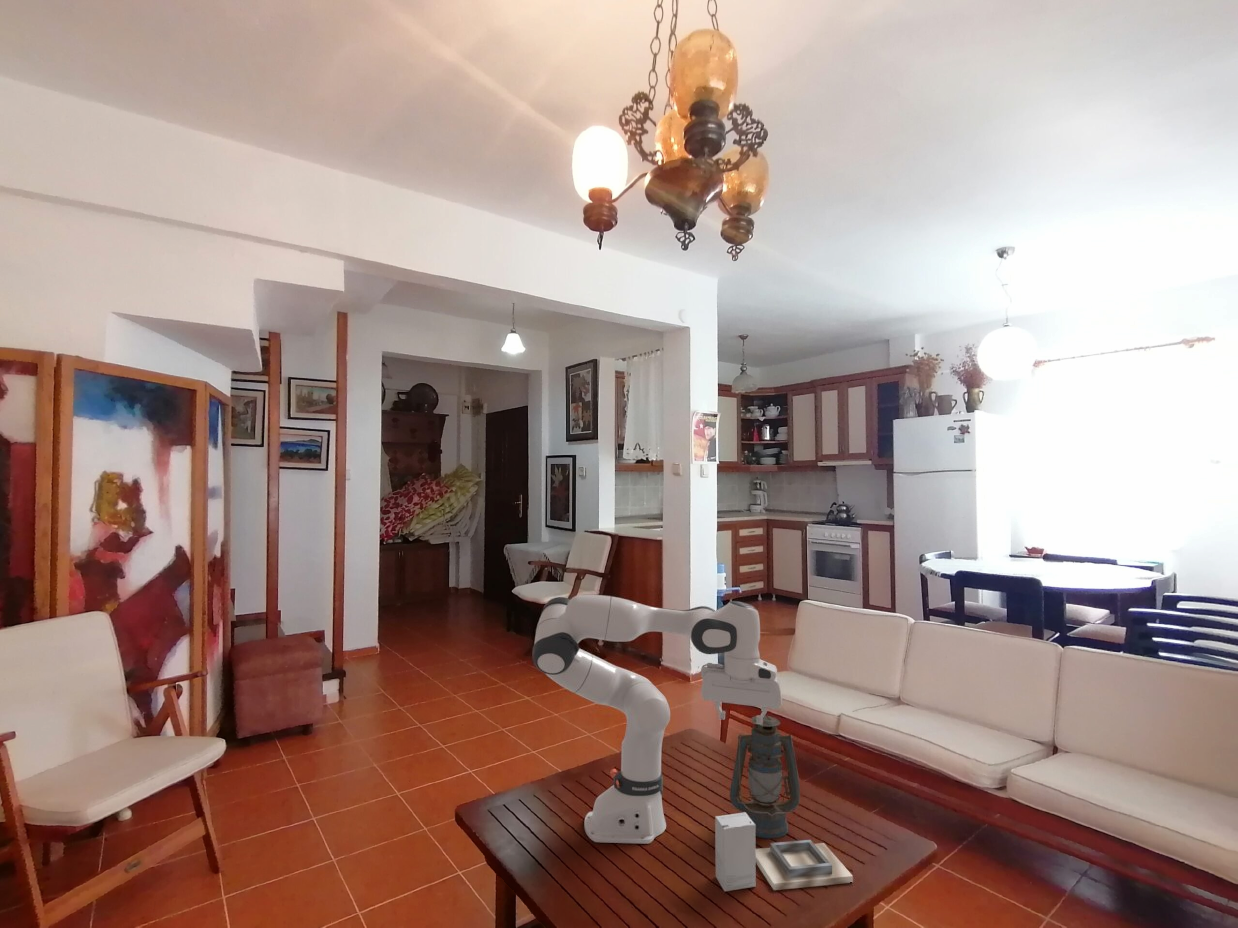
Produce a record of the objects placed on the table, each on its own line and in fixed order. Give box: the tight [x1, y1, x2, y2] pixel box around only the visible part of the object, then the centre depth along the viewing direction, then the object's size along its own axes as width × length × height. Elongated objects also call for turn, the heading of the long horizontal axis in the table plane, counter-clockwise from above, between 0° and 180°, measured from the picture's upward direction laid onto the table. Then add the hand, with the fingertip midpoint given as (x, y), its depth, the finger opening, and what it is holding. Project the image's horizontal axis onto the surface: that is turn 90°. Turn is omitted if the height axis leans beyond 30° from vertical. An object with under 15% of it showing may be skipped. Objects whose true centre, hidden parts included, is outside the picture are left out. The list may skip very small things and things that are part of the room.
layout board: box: [756, 839, 854, 891], centre depth 155 cm, size 20×14×4 cm
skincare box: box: [714, 812, 757, 892], centre depth 149 cm, size 8×6×15 cm
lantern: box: [729, 714, 801, 839], centre depth 174 cm, size 19×14×30 cm
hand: (740, 721), depth 160 cm, fingers open, 8 cm apart
